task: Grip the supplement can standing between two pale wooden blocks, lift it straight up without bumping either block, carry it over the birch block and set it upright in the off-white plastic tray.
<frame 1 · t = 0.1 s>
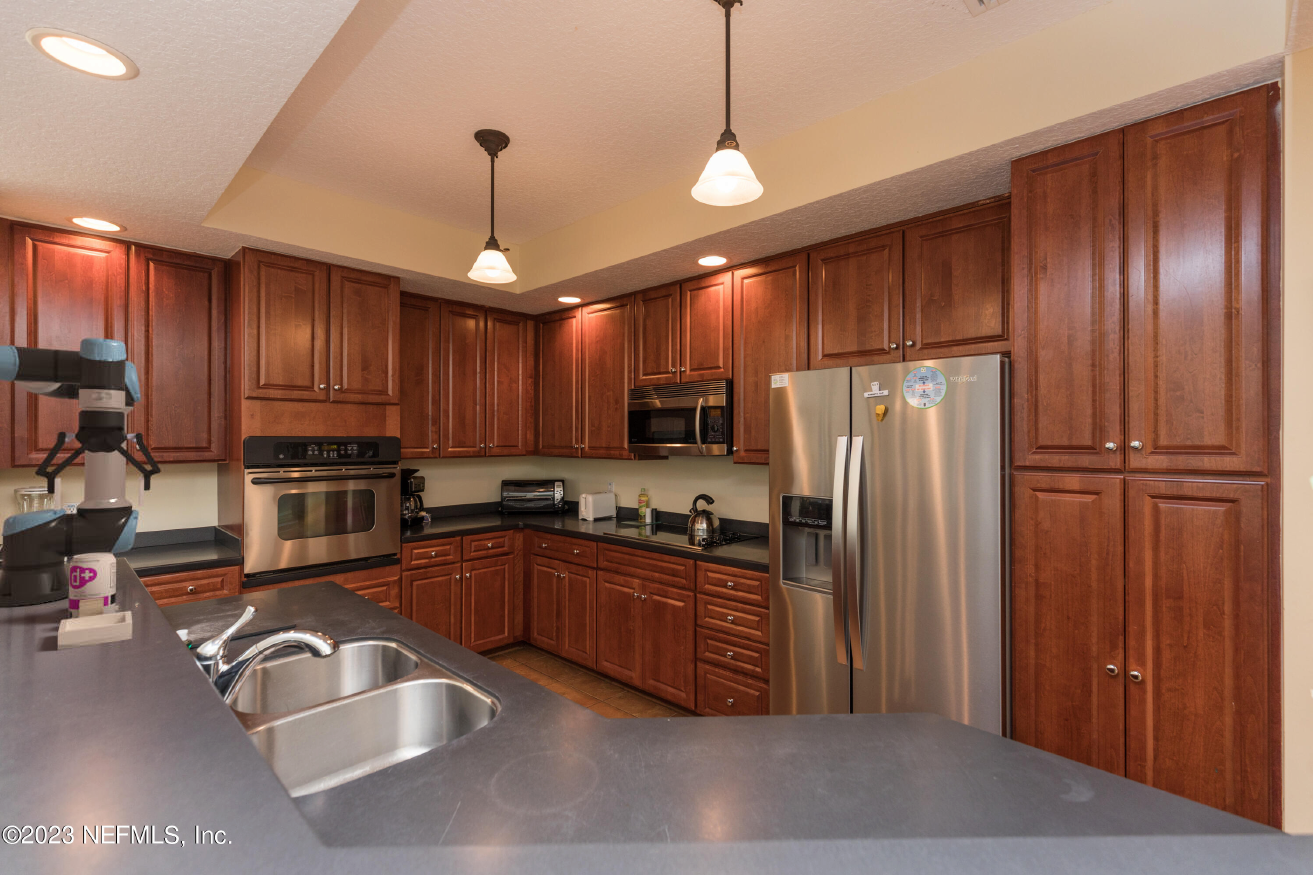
hand: (100, 507, 135), 28 cm above the counter, tool pointing down, fingers open, 13 cm apart
birch block: (91, 627, 141), on the counter
maple block: (93, 609, 154), on the counter
supplement can: (92, 618, 148), on the counter
off-white tray: (96, 637, 134), on the counter
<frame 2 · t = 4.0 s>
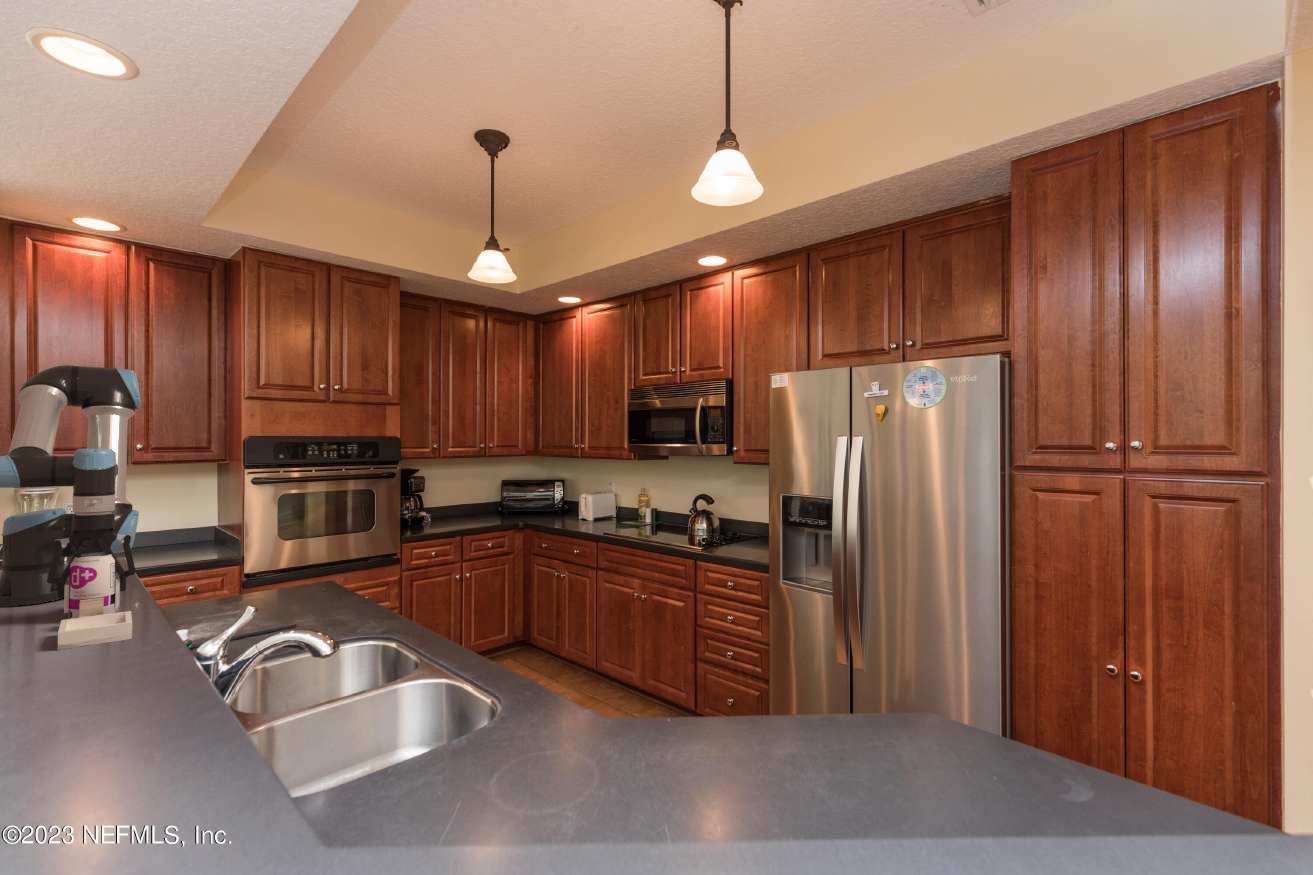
hand: (92, 608, 148), 2 cm above the counter, tool pointing down, fingers closed on supplement can, 8 cm apart
supplement can: (92, 618, 148), on the counter, touching gripper
everything else where it was.
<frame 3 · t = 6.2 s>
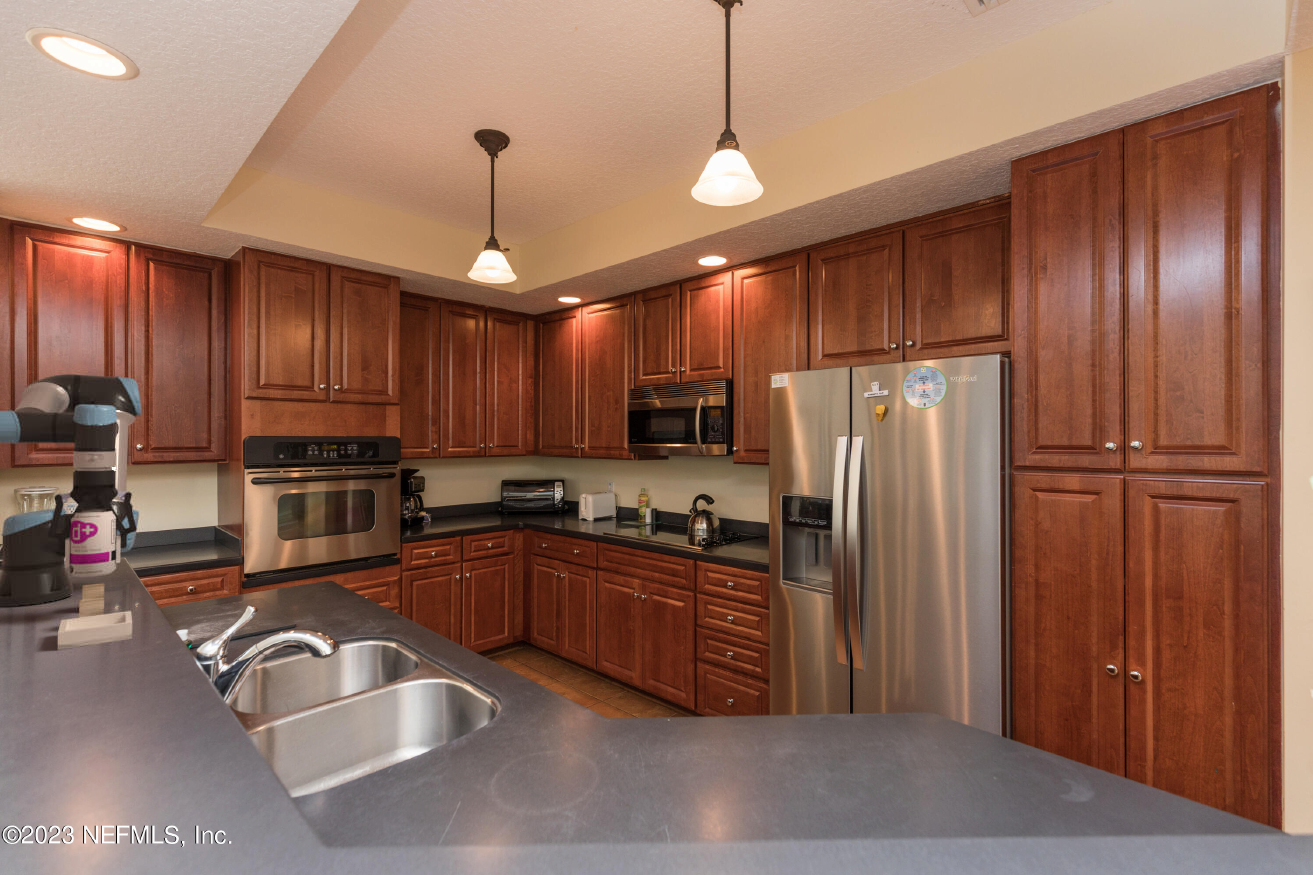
hand: (93, 564, 148), 13 cm above the counter, tool pointing down, fingers closed on supplement can, 8 cm apart
supplement can: (93, 574, 148), point 10 cm above the counter, touching gripper
everything else where it was.
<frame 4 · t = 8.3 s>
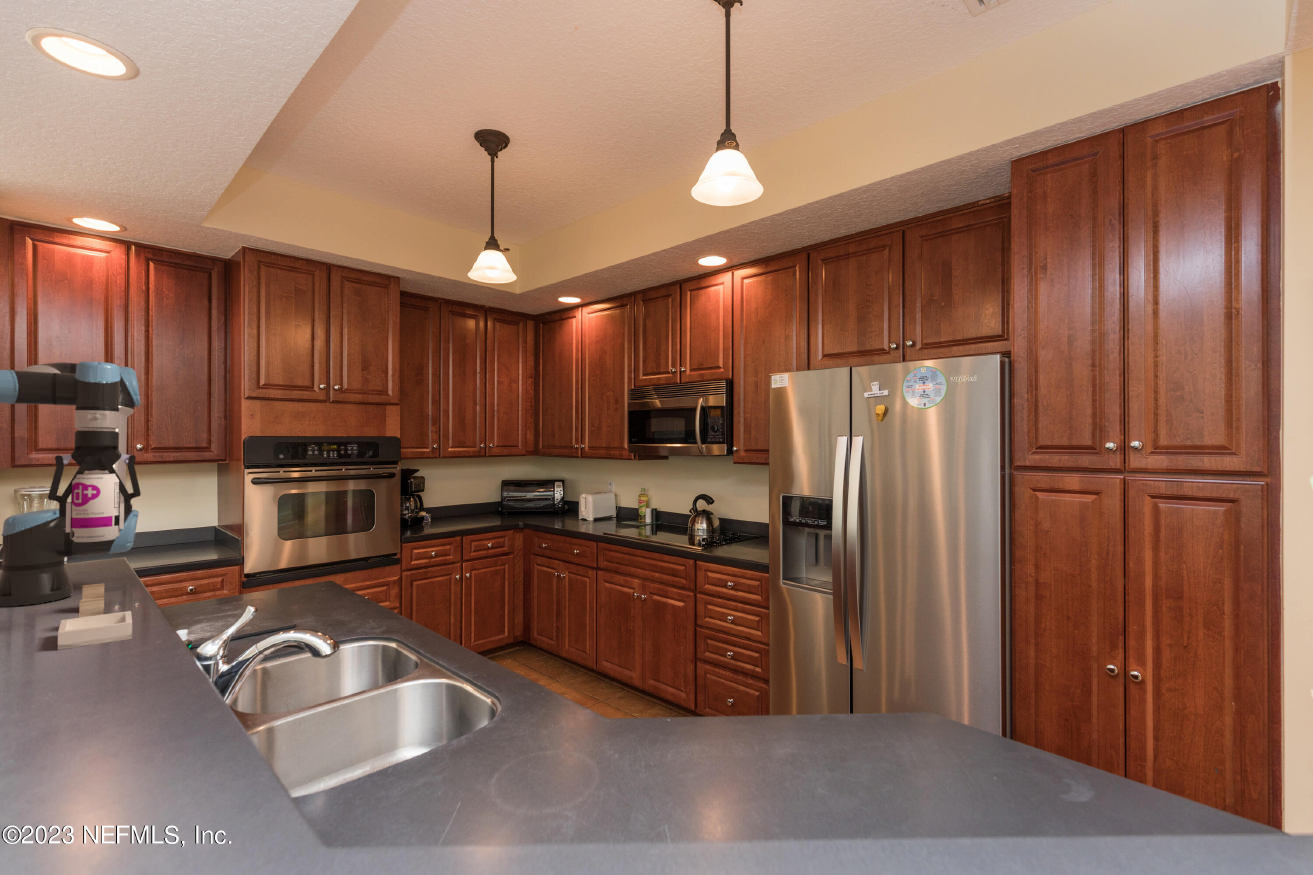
hand: (95, 529, 141), 22 cm above the counter, tool pointing down, fingers closed on supplement can, 8 cm apart
supplement can: (95, 540, 141), point 20 cm above the counter, touching gripper
everything else where it was.
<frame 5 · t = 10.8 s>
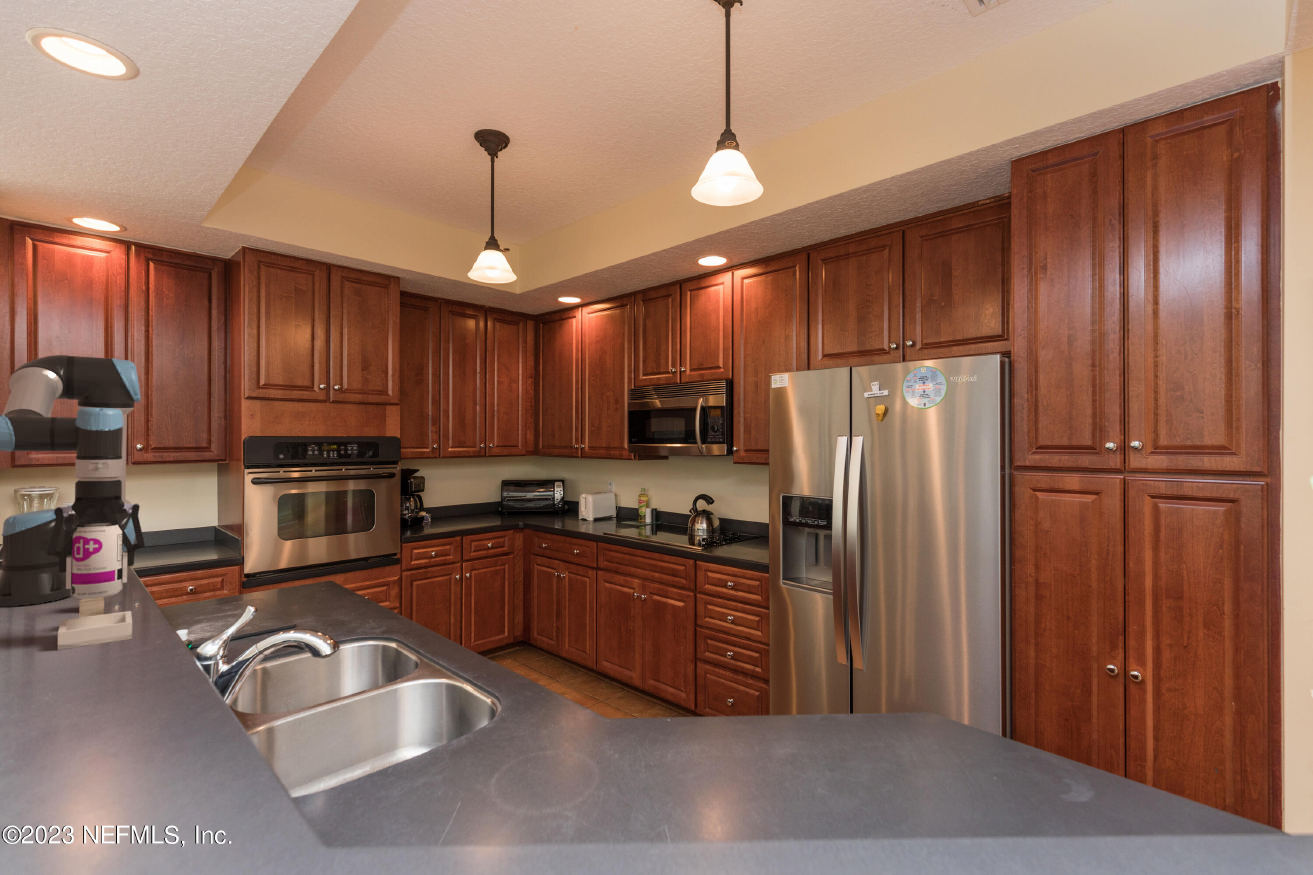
hand: (97, 584, 134), 11 cm above the counter, tool pointing down, fingers closed on supplement can, 8 cm apart
supplement can: (97, 595, 134), point 9 cm above the counter, touching gripper
everything else where it was.
when the fingers open (5 cm above the counter, at t = 12.9 s): supplement can drops 2 cm, resting on off-white tray.
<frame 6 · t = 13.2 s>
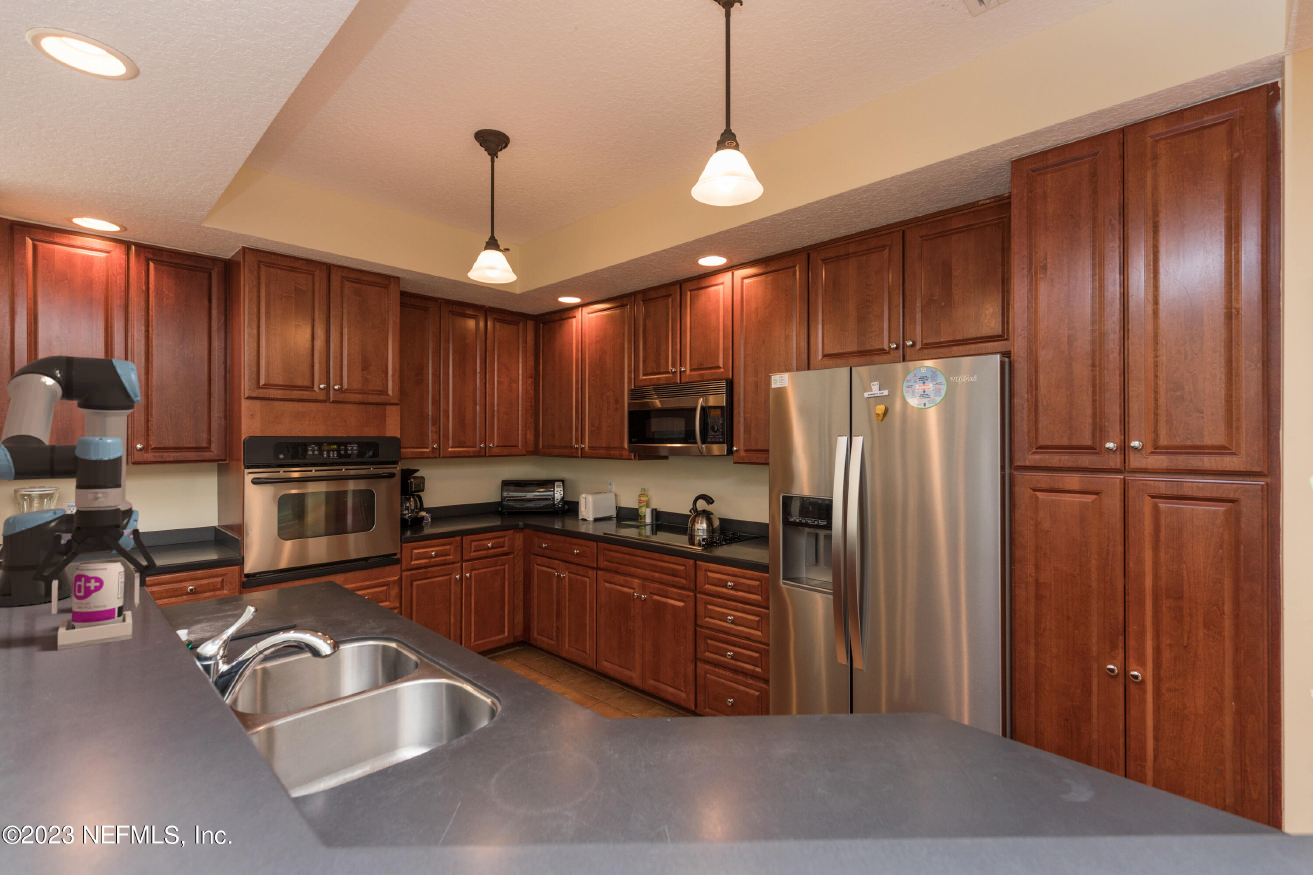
hand: (96, 607, 134), 7 cm above the counter, tool pointing down, fingers open, 12 cm apart
supplement can: (96, 633, 134), point 1 cm above the counter, touching off-white tray
everything else where it was.
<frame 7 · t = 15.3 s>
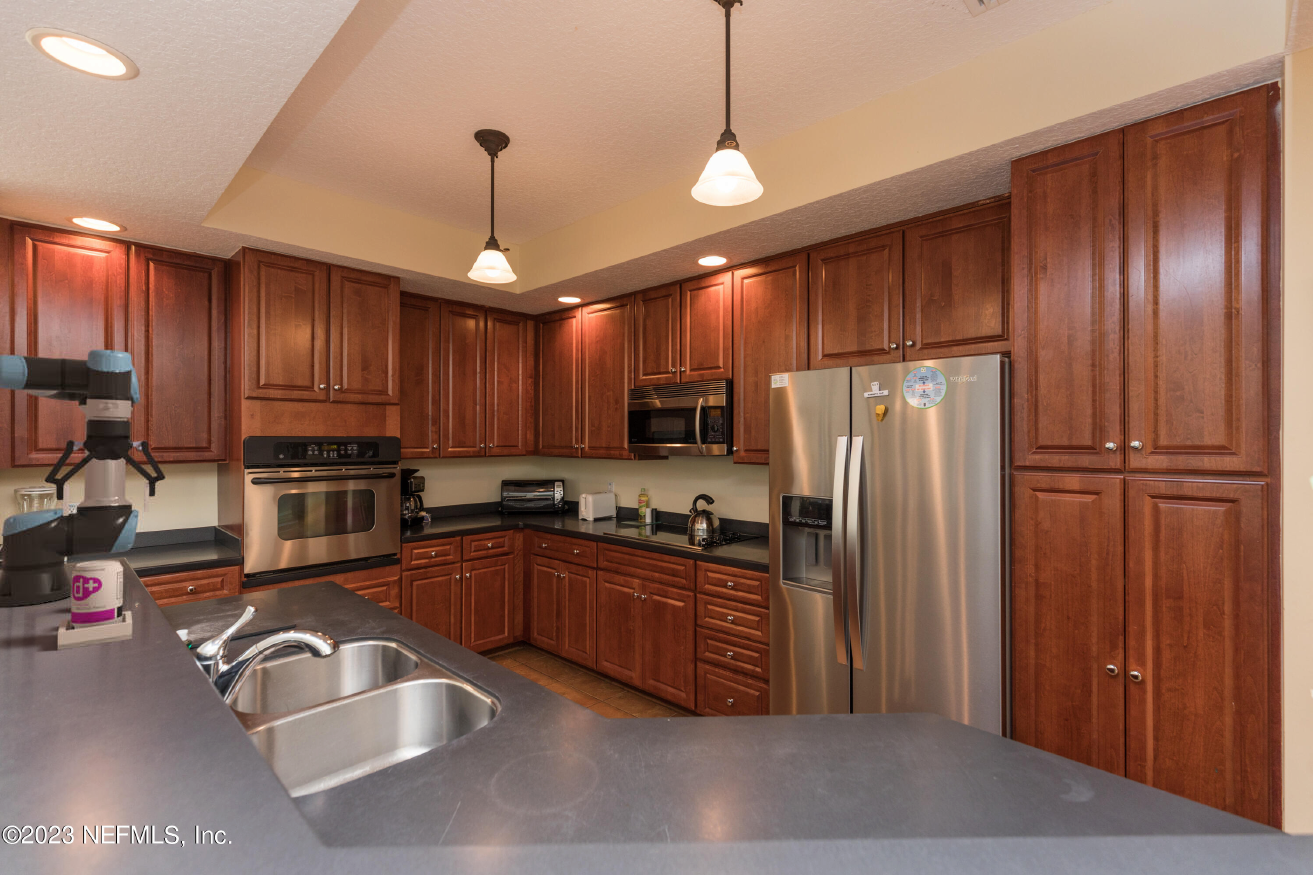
hand: (107, 512, 140), 26 cm above the counter, tool pointing down, fingers open, 13 cm apart
nothing on the counter moved.
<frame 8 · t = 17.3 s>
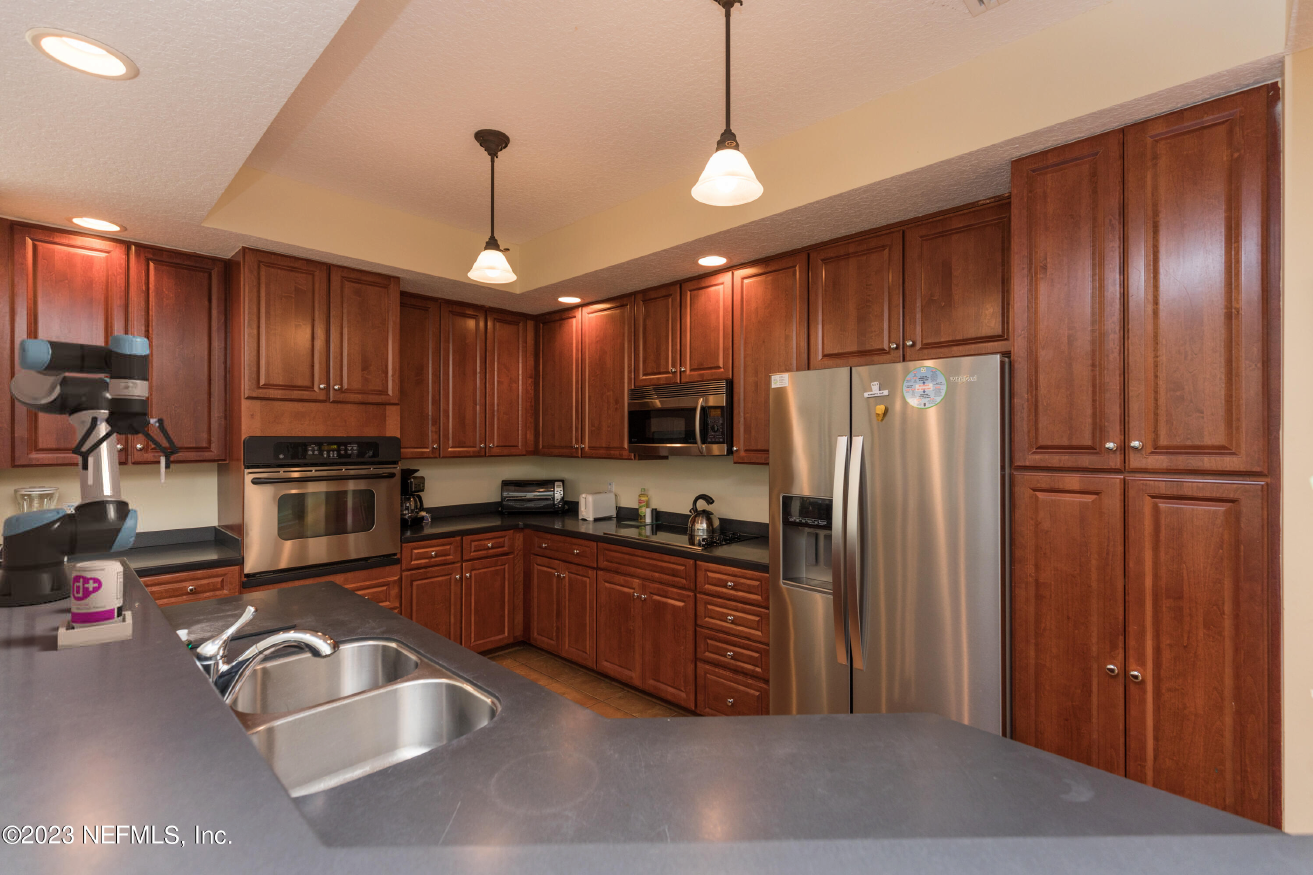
hand: (127, 483, 154), 32 cm above the counter, tool pointing down, fingers open, 13 cm apart
nothing on the counter moved.
at the end: supplement can 0.1 cm off-centre on the off-white tray, point 0.8 cm above the off-white tray's base; supplement can tilted 0°; birch block moved 0.1 cm from its start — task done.
